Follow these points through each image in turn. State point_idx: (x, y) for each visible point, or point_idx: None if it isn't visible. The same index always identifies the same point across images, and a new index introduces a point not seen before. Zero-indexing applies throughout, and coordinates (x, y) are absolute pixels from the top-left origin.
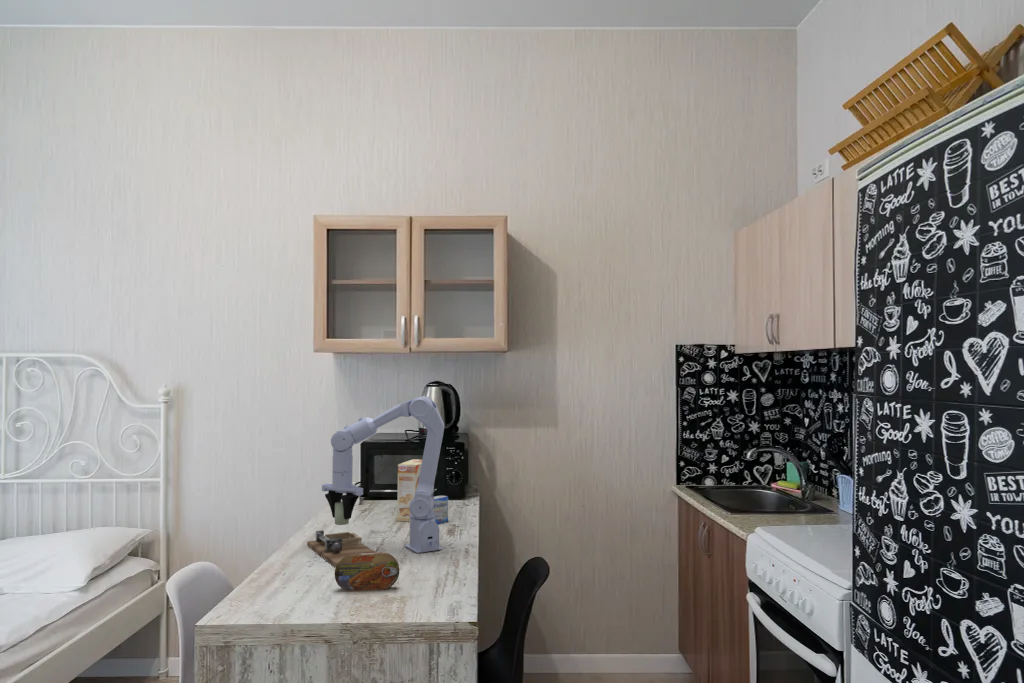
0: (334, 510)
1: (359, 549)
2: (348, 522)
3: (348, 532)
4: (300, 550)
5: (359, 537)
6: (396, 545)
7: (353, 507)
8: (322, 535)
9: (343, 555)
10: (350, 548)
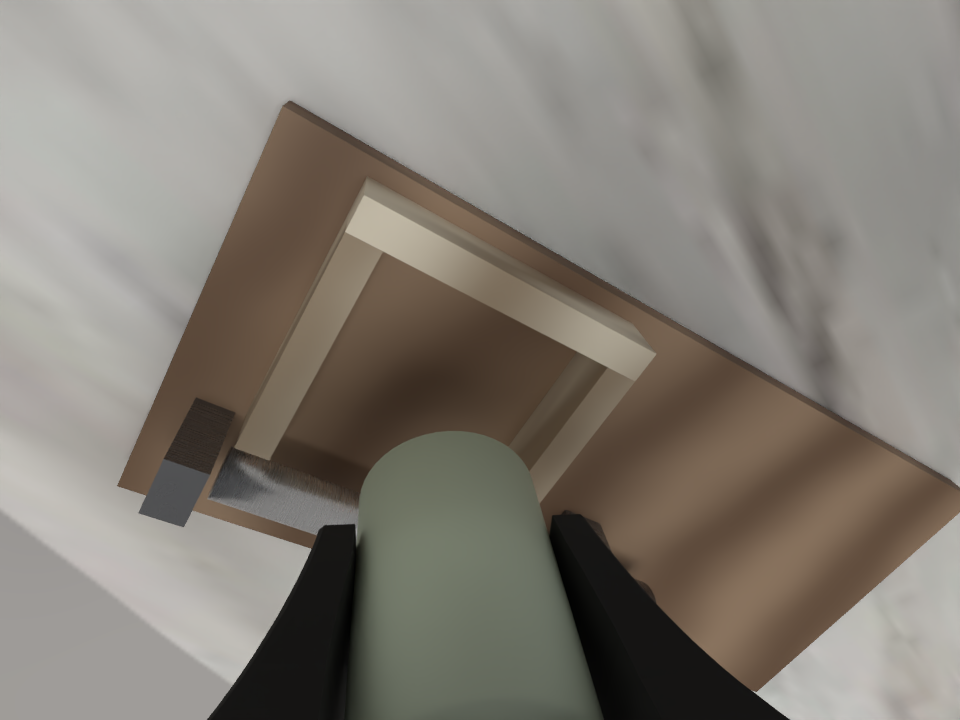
0: (345, 684)
1: (701, 441)
2: (529, 476)
3: (378, 259)
4: (223, 562)
5: (635, 363)
6: (883, 35)
7: (676, 630)
8: (291, 522)
9: (677, 583)
10: (619, 455)
